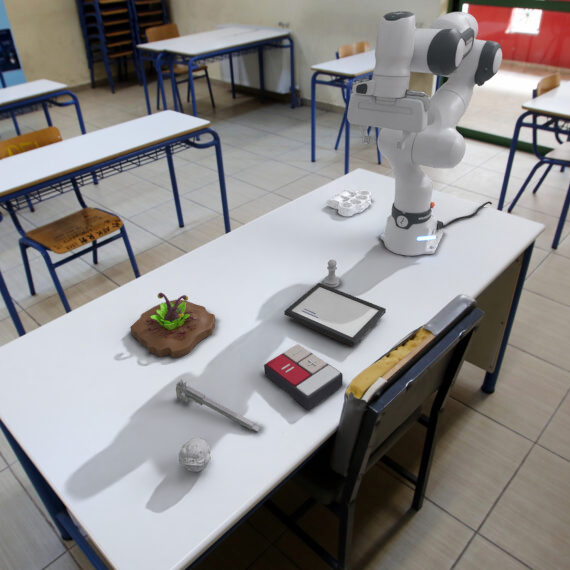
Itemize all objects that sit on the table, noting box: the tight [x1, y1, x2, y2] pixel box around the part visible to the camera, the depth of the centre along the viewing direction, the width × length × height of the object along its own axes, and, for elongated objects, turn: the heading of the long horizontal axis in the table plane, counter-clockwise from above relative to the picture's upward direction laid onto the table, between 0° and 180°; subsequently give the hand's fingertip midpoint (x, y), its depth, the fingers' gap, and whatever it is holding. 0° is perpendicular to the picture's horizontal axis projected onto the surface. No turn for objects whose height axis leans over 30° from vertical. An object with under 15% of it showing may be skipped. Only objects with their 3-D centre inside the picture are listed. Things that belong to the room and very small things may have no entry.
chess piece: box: [322, 259, 340, 288], centre depth 145 cm, size 5×5×8 cm
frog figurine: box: [178, 437, 212, 473], centre depth 95 cm, size 6×7×7 cm
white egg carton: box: [326, 189, 373, 217], centre depth 189 cm, size 3×18×15 cm
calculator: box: [263, 343, 344, 411], centre depth 114 cm, size 11×4×15 cm
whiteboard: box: [283, 282, 387, 347], centre depth 132 cm, size 16×21×3 cm
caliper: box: [175, 378, 261, 433], centre depth 106 cm, size 20×1×6 cm, turn 63°
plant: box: [129, 292, 216, 358], centre depth 128 cm, size 20×20×11 cm
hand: (382, 146), depth 127 cm, fingers open, 8 cm apart
